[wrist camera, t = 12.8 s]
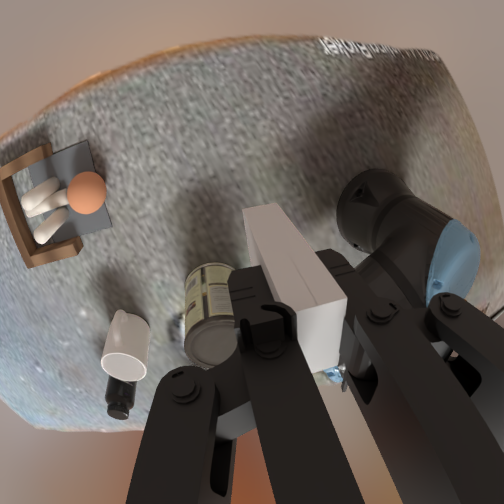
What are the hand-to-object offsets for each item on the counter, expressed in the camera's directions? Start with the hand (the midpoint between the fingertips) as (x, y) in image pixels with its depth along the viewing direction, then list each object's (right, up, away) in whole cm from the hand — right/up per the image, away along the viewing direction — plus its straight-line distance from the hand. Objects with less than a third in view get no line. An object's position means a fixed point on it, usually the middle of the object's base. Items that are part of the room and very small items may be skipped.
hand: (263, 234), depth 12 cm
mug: (-24, -14, +36) cm, 46 cm away
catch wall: (-35, +7, +22) cm, 42 cm away
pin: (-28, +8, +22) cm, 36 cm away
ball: (-23, +7, +21) cm, 32 cm away
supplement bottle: (-31, -29, +44) cm, 61 cm away
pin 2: (-30, +5, +24) cm, 39 cm away
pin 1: (-31, +10, +21) cm, 39 cm away
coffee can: (-7, -7, +36) cm, 37 cm away
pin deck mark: (-29, +8, +23) cm, 38 cm away
